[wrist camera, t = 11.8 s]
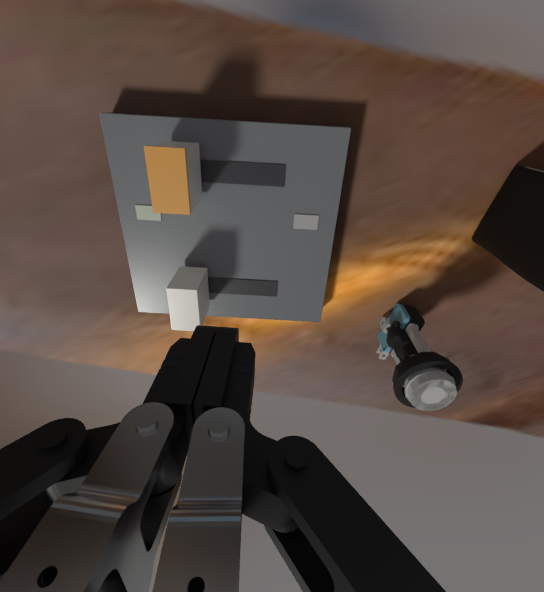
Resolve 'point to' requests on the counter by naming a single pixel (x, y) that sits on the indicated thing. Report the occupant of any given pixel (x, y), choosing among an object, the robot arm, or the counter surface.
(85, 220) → the counter surface
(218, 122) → the breaker board
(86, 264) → the counter surface
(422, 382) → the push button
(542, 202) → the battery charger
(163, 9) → the counter surface
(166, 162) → the handle
